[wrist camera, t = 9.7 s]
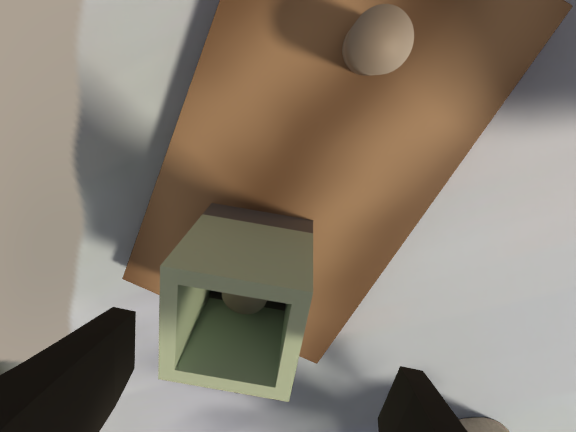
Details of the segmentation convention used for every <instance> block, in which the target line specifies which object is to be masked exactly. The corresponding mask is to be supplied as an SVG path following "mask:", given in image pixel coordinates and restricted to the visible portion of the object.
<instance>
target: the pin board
mask: <svg viewBox="0 0 576 432" xmlns="http://www.w3.org/2000/svg"><path fill="white" fill-rule="evenodd" d="M571 8H572V5H571V4H569V3H567V2H566V1H564V0H220V1H219V4H218V7H217V10H216V13H215V16H214V19H213V21H212V24H211V27H210V30H209V33H208V36H207V39H206V41H205V44H204V47H203V50H202V53H201V56H200V59H199V61H198V64H197V67H196V70H195V73H194V76H193V79H192V81H191V84H190V87H189V90H188V93H187V96H186V99H185V101H184V104H183V107H182V110H181V113H180V116H179V119H178V121H177V124H176V127H175V130H174V133H173V136H172V139H171V141H170V144H169V147H168V150H167V153H166V156H165V159H164V161H163V164H162V167H161V170H160V173H159V176H158V179H157V181H156V184H155V187H154V190H153V193H152V196H151V199H150V201H149V204H148V207H147V210H146V213H145V216H144V219H143V221H142V224H141V227H140V230H139V233H138V236H137V239H136V241H135V244H134V247H133V250H132V253H131V256H130V258H129V261H128V264H127V267H126V270H125V273H124V276H123V278H122V279H124V280H126V281H128V282H131V283H133V284H135V285H138V286H140V287H142V288H145V289H147V290H149V291H151V292H154V293H156V294H158V295H160V265H161V264H162V263H163V262H164V260H165V259H166V258H167V257H168V256H169V254H170V253H171V252H172V251H173V249H174V248H175V247H176V246H177V245H178V243H179V242H180V241H181V240H182V238H183V237H184V236H185V235H186V234H187V232H188V231H189V230H190V229H191V228H192V226H193V225H194V224H195V223H196V221H197V220H198V219H199V218H200V217H201V215H202V214H203V213H204V212H205V210H206V209H207V208H208V207H209V206H210V204H211V203H216V204H221V205H227V206H233V207H239V208H244V209H250V210H256V211H262V212H268V213H273V214H279V215H285V216H291V217H297V218H302V219H308V220H313V296H312V300H311V305H310V309H309V314H308V318H307V323H306V327H305V332H304V336H303V341H302V345H301V350H300V354H299V356H300V357H303V358H305V359H307V360H310V361H312V362H314V363H316V364H317V363H318V361H319V360H320V359H321V357H322V356H323V354H324V353H325V352H326V350H327V349H328V347H329V346H330V345H331V343H332V342H333V340H334V339H335V338H336V336H337V335H338V333H339V332H340V331H341V329H342V328H343V326H344V325H345V324H346V322H347V321H348V319H349V318H350V317H351V315H352V314H353V312H354V311H355V310H356V308H357V307H358V305H359V304H360V303H361V301H362V300H363V298H364V297H365V296H366V294H367V293H368V291H369V290H370V289H371V287H372V286H373V284H374V283H375V282H376V280H377V279H378V278H379V276H380V275H381V273H382V272H383V271H384V269H385V268H386V266H387V265H388V264H389V262H390V261H391V259H392V258H393V257H394V255H395V254H396V252H397V251H398V250H399V248H400V247H401V245H402V244H403V243H404V241H405V240H406V238H407V237H408V236H409V234H410V233H411V231H412V230H413V229H414V227H415V226H416V224H417V223H418V222H419V220H420V219H421V217H422V216H423V215H424V213H425V212H426V210H427V209H428V208H429V206H430V205H431V203H432V202H433V201H434V199H435V198H436V196H437V195H438V194H439V192H440V191H441V189H442V188H443V187H444V185H445V184H446V182H447V181H448V180H449V178H450V177H451V175H452V174H453V173H454V171H455V170H456V168H457V167H458V166H459V164H460V163H461V162H462V160H463V159H464V157H465V156H466V155H467V153H468V152H469V150H470V149H471V148H472V146H473V145H474V143H475V142H476V141H477V139H478V138H479V136H480V135H481V134H482V132H483V131H484V129H485V128H486V127H487V125H488V124H489V122H490V121H491V120H492V118H493V117H494V115H495V114H496V113H497V111H498V110H499V108H500V107H501V106H502V104H503V103H504V101H505V100H506V99H507V97H508V96H509V94H510V93H511V92H512V90H513V89H514V87H515V86H516V85H517V83H518V82H519V80H520V79H521V78H522V76H523V75H524V73H525V72H526V71H527V69H528V68H529V66H530V65H531V64H532V62H533V61H534V59H535V58H536V57H537V55H538V54H539V52H540V51H541V50H542V48H543V47H544V46H545V44H546V43H547V41H548V40H549V39H550V37H551V36H552V34H553V33H554V32H555V30H556V29H557V27H558V26H559V25H560V23H561V22H562V20H563V19H564V18H565V16H566V15H567V13H568V12H569V11H570V9H571ZM222 298H223V301H224V303H225V304H226V306H227V307H228V308H230V309H231V310H232V311H234V312H236V313H239V314H254V313H256V312H258V311H260V310H261V309H262V308H263V307H264V306H265V304H266V302H267V300H263V299H258V298H252V297H246V296H240V295H235V294H229V293H223V292H222Z"/></svg>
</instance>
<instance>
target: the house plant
mask: <svg viewBox="0 0 576 432" xmlns="http://www.w3.org/2000/svg"><path fill="white" fill-rule="evenodd" d="M459 421H460V422H461V423H462V425H463V426H464V427H465V429H466V430H467V431H468V432H509V430H508V429H507V428H506V427H505V426H504V425H503V424H501V423H499V422H497V421H495V420H492V419H489V418H485V417H474V418H464V419H459Z"/></svg>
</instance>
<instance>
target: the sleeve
mask: <svg viewBox="0 0 576 432" xmlns="http://www.w3.org/2000/svg"><path fill="white" fill-rule="evenodd" d="M222 292H223V293H229V294H235V295H240V296H246V297H252V298H258V299H263V300H267V302H266V304H265V306H264V307H263V308H262V309H261V310H260V311H258V312H256V313H254V314H239V313H236V312H234V311H232V310H231V309H230V308H228V307H227V306H226V304H225V303H224V301H223V298H222ZM312 296H313V220H308V219H302V218H297V217H291V216H285V215H279V214H273V213H268V212H262V211H256V210H250V209H244V208H239V207H233V206H227V205H221V204H216V203H211V204H210V206H209V207H208V208H207V209H206V210H205V212H204V213H203V214H202V215H201V217H200V218H199V219H198V220H197V221H196V223H195V224H194V225H193V226H192V228H191V229H190V230H189V231H188V232H187V234H186V235H185V236H184V237H183V238H182V240H181V241H180V242H179V243H178V245H177V246H176V247H175V248H174V249H173V251H172V252H171V253H170V254H169V256H168V257H167V258H166V259H165V260H164V262H163V263H162V264H161V265H160V304H159V375H158V379H161V380H166V381H172V382H178V383H184V384H189V385H195V386H201V387H206V388H212V389H218V390H224V391H229V392H235V393H241V394H246V395H252V396H258V397H264V398H269V399H275V400H281V401H286V402H289V399H290V394H291V390H292V386H293V381H294V377H295V372H296V368H297V363H298V359H299V354H300V350H301V345H302V341H303V336H304V332H305V327H306V323H307V318H308V314H309V309H310V305H311V300H312Z"/></svg>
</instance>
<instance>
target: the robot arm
mask: <svg viewBox="0 0 576 432" xmlns="http://www.w3.org/2000/svg"><path fill="white" fill-rule="evenodd" d="M135 314H136V312H135V311H130V310H125V309H120V308H116V307H112V308H111V309H109V310H107V311H106V312H104V313H103V314H101V315H99V316H98V317H96V318H94V319H93V320H91V321H90V322H88V323H86V324H85V325H83V326H82V327H80V328H78V329H77V330H75V331H74V332H72V333H70V334H69V335H67V336H66V337H64V338H62V339H61V340H59V341H58V342H56V343H54V344H53V345H51V346H49V347H48V348H46V349H45V350H43V351H41V352H39V353H38V354H36V355H34V356H33V357H31V358H30V359H28V360H26V361H25V362H23V363H21V364H19V365H18V366H16V367H14V368H12V369H11V370H9V371H7V372H5V373H4V374H2V375H0V432H99V431H100V430H101V428H102V426H103V425H104V423H105V422H106V420H107V419H108V417H109V415H110V414H111V412H112V411H113V409H114V408H115V406H116V404H117V402H118V400H119V398H120V396H121V394H122V392H123V390H124V388H125V386H126V384H127V382H128V380H129V378H130V376H131V374H132V372H133V370H134V363H135ZM378 427H379V432H468V431H467V430H466V429H465V427H464V426H463V425H462V423H461V422H460V421H459V419H458V418H457V417H456V415H455V414H454V413H453V411H452V410H451V408H450V407H449V406H448V404H447V403H446V402H445V400H444V399H443V397H442V396H441V395H440V393H439V392H438V391H437V389H436V388H435V387H434V385H433V384H432V382H431V381H430V380H429V378H428V377H427V376H426V375H425V373H424V372H423V371H421V370H416V369H411V368H406V367H401V366H400V368H399V370H398V373H397V375H396V377H395V380H394V382H393V384H392V387H391V389H390V391H389V394H388V396H387V398H386V401H385V403H384V405H383V408H382V410H381V412H380V415H379V417H378Z"/></svg>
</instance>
